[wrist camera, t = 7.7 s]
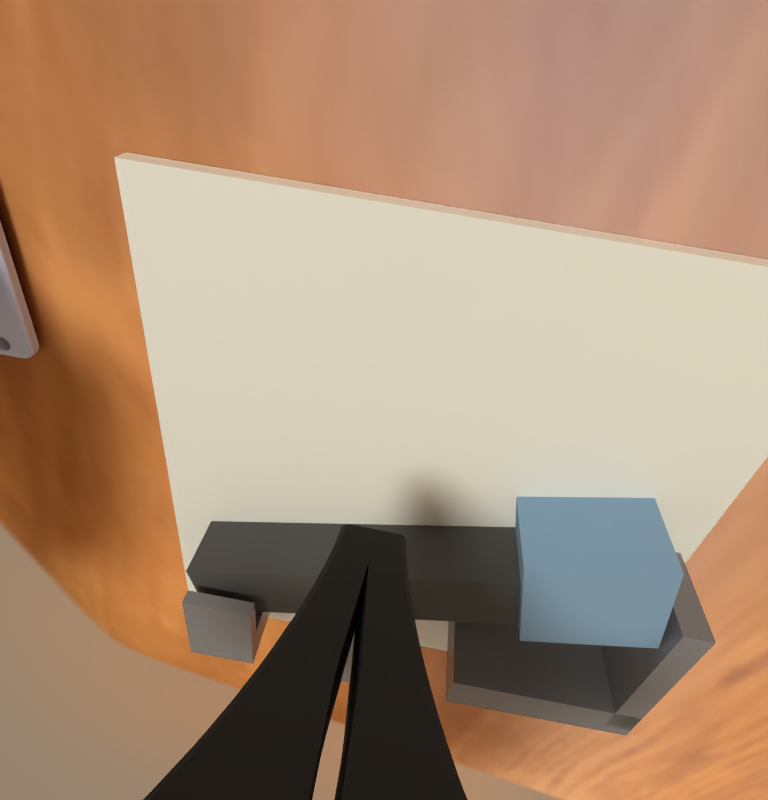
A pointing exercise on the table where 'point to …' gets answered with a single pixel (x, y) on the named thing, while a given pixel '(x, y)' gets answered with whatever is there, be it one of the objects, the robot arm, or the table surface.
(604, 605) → the grey long block
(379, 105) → the table surface
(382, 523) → the board
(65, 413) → the table surface
